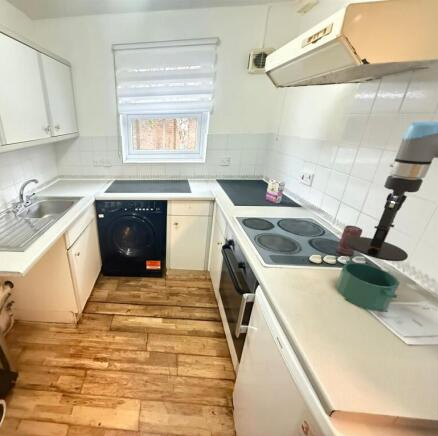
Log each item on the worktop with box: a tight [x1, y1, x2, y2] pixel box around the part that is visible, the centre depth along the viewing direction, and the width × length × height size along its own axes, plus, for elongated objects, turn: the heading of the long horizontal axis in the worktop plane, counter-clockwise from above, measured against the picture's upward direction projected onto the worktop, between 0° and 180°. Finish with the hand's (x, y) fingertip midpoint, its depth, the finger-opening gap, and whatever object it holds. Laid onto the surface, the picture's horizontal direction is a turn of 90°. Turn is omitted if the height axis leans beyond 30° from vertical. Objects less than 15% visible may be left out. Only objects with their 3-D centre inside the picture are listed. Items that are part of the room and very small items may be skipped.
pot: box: [335, 259, 400, 311], centre depth 85 cm, size 15×20×10 cm
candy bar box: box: [264, 178, 286, 205], centre depth 181 cm, size 11×5×16 cm, turn 15°
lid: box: [346, 227, 409, 262], centre depth 79 cm, size 16×16×9 cm
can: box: [336, 225, 364, 258], centre depth 110 cm, size 6×6×14 cm
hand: (376, 245), depth 80 cm, fingers closed on lid, 3 cm apart
